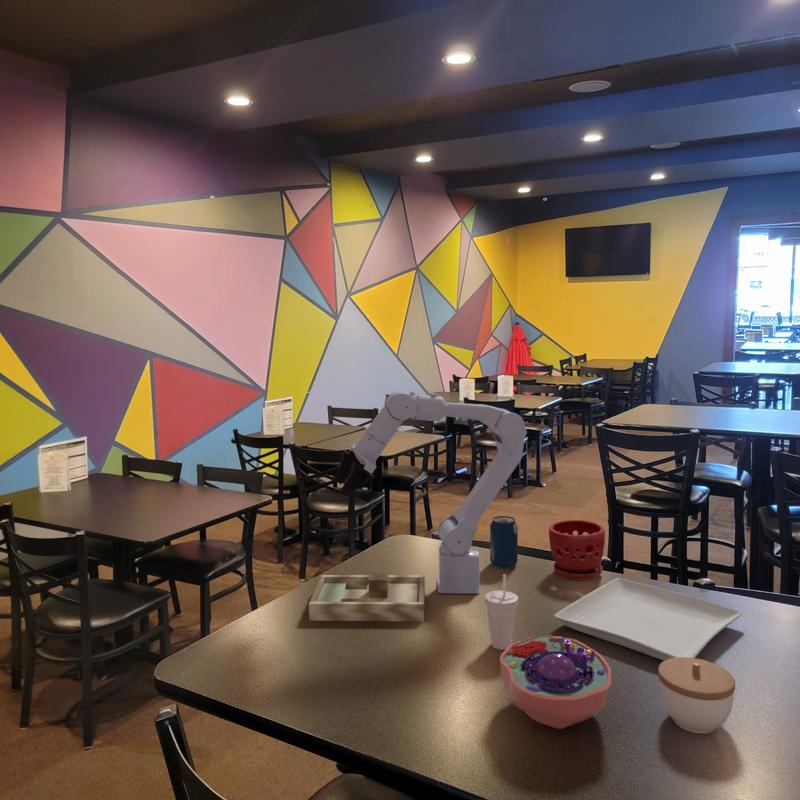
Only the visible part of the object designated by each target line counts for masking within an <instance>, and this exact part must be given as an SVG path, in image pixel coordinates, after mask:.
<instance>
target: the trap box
mask: <svg viewBox="0 0 800 800" xmlns="http://www.w3.org/2000/svg"><path fill="white" fill-rule="evenodd" d="M369 576H370V574H367V575H366V574H364V575H363V574H361V575H360V574H321V575H320V577H319V580H318V582H317V584H316V587H315V589H314V591H313V594H312V595H311V598H310V601H309V603H308V615H309V618H308V619H309V620H308V621H311V622H312V621H313V622H314V621H316V622H318V621H319V622H320V621H324V622H330V621H331V622H332V621H333V622H335V621H336V622H425V600H426V599H425V595H426V594H425V593H426V591H425V590H426V583H425V582H426V579H425V578H426V577H425V575H424V574H423V575H422V574H421V575H419V574H418V575H414V574H413V575H411V574H410V575H406V574H404V575H403V574H402V575H398V574H394V575H393V574H391V575H390V574H388V596H387V598H369Z"/></svg>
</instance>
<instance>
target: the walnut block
mask: <svg viewBox="0 0 800 800" xmlns="http://www.w3.org/2000/svg"><path fill="white" fill-rule="evenodd" d="M369 575H370V576H369V598H387V596H388V575H389V572H387V573H386V572H381V573H380V572H377V573H375V572H370V573H369Z"/></svg>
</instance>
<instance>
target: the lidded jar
mask: <svg viewBox="0 0 800 800" xmlns="http://www.w3.org/2000/svg"><path fill="white" fill-rule="evenodd" d="M657 674H658V692H659V697H660V700H661V703H662V706H663V708H664V710H665V712H666V713H667V714H668V715H669V716H670V717H671V719H672V720H673V722H674V723H675V724H676V725H677V726H678V727H679V728H681V729H682V730H683V731H684V730H685V731H687V732H690V733H693V734H699V735H700V734H701V735H704V734H705V735H707V734H710V733H713V732H714V731H716V729H718V728H719V727H721V726H722V725H723V724H724V723H726V721H727V720H728V718H729V717H730V715H731V712H732V711H733V704H734V699H735V689H736V680H735V678H734V676H733V675H732V674H731V673H730V671H728V670H726V669H725V667H724V668H723V666H720V665H718V664H716V663H714V662H710V661H708V660H705V659H700V658H696V657H695V658H689V657H676V658H671V659H667V660H665V661H663V660H662V662H660V664H659V665H658V669H657Z"/></svg>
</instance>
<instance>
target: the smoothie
mask: <svg viewBox="0 0 800 800" xmlns="http://www.w3.org/2000/svg"><path fill="white" fill-rule="evenodd" d="M484 603H485V604H486V609H487V618H488V625H489V633H490V634H489V635H490V641H491V646H492V648H494V649H495V650H501V651H505V650H506V649H507V647H508V646H509V645H510V644H512V642H513V635H514V628H515V627H514V626H515V620H516V612H517V606H518V605H519V596H518V595H517V594H516V593H514V592H511V591H509V590H508V591H507V574H505V573H504V574H502V590H501V589H500V590H492V591H489V592H487V593H486V594H485V595H484Z"/></svg>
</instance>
